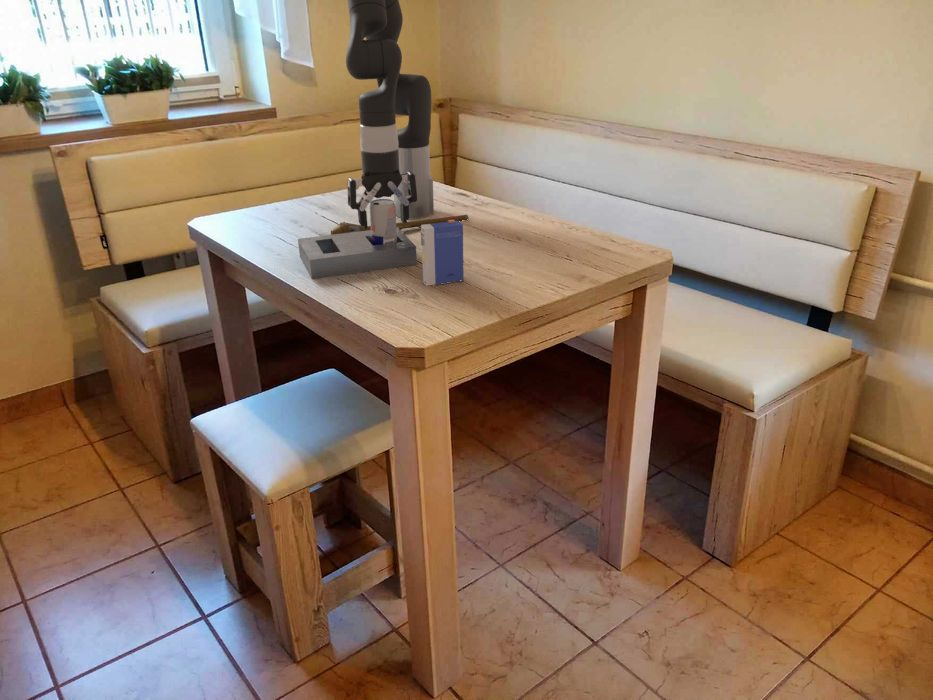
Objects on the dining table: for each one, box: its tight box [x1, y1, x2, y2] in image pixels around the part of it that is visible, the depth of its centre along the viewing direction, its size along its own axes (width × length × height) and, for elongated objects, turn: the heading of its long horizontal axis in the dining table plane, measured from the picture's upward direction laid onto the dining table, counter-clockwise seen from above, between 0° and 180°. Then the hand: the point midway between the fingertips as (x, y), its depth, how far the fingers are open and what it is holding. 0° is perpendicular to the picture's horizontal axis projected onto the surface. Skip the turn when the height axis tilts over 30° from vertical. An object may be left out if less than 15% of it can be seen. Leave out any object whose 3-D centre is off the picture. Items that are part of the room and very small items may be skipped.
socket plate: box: [297, 227, 418, 280], centre depth 158 cm, size 22×14×4 cm, turn 111°
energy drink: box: [369, 198, 397, 246], centre depth 158 cm, size 5×5×12 cm
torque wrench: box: [330, 214, 469, 235], centre depth 176 cm, size 5×35×5 cm
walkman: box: [420, 220, 464, 287], centre depth 145 cm, size 8×3×12 cm, turn 110°
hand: (384, 224), depth 158 cm, fingers open, 8 cm apart
